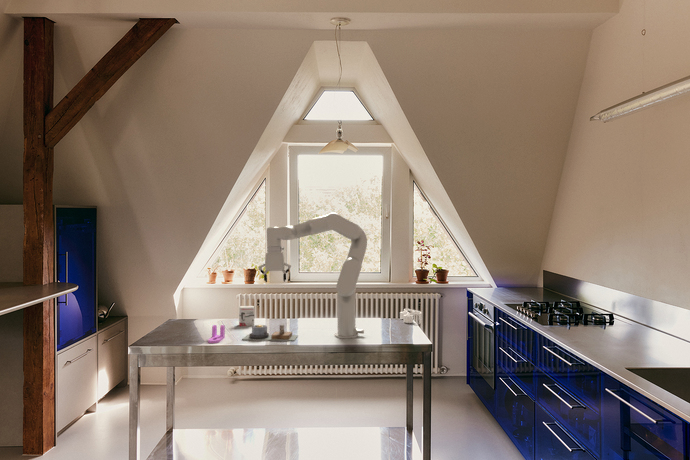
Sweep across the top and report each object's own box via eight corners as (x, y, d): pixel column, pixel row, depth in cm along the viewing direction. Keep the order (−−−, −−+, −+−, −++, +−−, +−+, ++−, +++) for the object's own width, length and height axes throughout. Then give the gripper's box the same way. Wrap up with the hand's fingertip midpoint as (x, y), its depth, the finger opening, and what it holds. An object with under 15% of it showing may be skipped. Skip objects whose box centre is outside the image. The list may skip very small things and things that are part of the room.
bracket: (214, 337, 245) (214, 324, 245) (224, 337, 245) (224, 324, 245) (206, 343, 232) (207, 329, 232) (218, 343, 232) (218, 329, 232)
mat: (298, 336, 248) (298, 335, 248) (294, 341, 237) (294, 339, 237) (247, 335, 250) (247, 334, 250) (241, 340, 239) (241, 339, 239)
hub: (270, 335, 248) (270, 323, 248) (266, 339, 238) (266, 327, 238) (252, 334, 249) (252, 323, 249) (247, 338, 239) (247, 327, 239)
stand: (292, 335, 247) (292, 323, 247) (288, 339, 238) (288, 327, 238) (275, 335, 248) (275, 323, 248) (271, 339, 239) (271, 326, 239)
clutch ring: (264, 332, 248) (264, 324, 248) (268, 334, 242) (268, 327, 242) (250, 333, 245) (250, 325, 245) (254, 336, 239) (254, 328, 239)
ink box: (239, 327, 271) (239, 307, 271) (239, 326, 276) (239, 306, 276) (254, 327, 273) (254, 306, 273) (253, 325, 278) (254, 305, 278)
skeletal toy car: (398, 320, 297) (398, 308, 297) (415, 320, 298) (415, 308, 298) (405, 326, 277) (405, 313, 277) (423, 326, 278) (423, 313, 278)
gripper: (290, 249, 256) (291, 280, 256) (258, 250, 255) (259, 281, 254) (290, 249, 249) (291, 281, 248) (257, 250, 247) (258, 283, 247)
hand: (275, 281), depth 251 cm, fingers open, 9 cm apart
